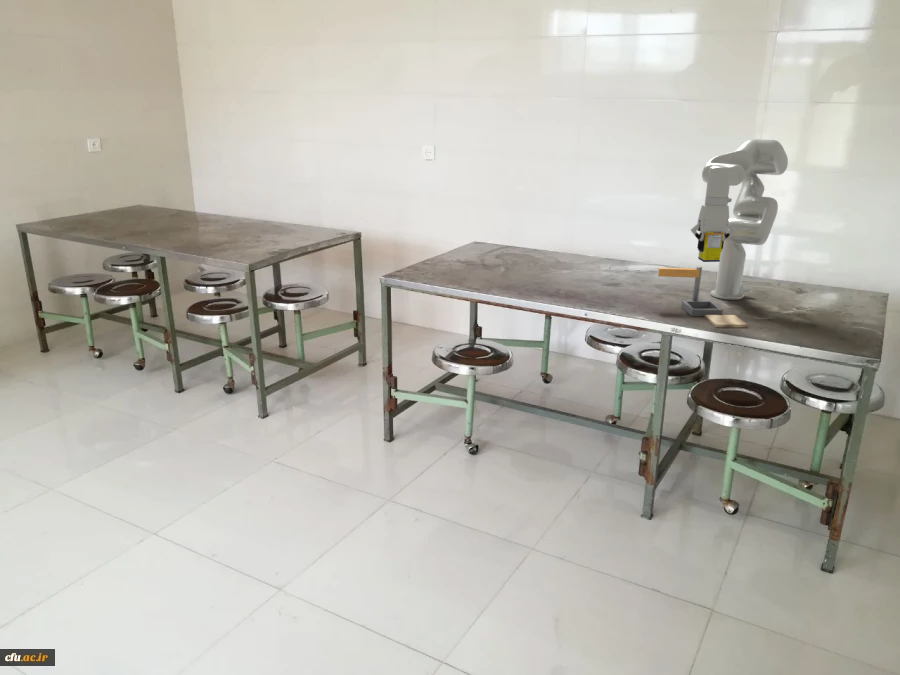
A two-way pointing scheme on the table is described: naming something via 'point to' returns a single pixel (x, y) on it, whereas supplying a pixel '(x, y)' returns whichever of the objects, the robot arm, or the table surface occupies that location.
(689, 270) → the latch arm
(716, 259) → the supplement box
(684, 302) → the socket collar
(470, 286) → the table surface
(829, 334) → the table surface
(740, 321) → the oak board
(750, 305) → the table surface
